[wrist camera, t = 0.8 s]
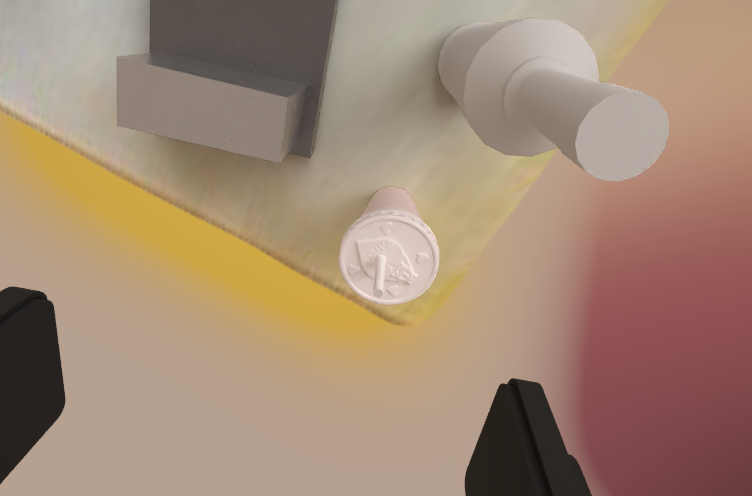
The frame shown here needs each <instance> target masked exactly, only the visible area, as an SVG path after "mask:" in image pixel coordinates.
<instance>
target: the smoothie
mask: <svg viewBox="0 0 752 496" xmlns="http://www.w3.org/2000/svg"><path fill="white" fill-rule="evenodd" d="M339 267H340V271H341V274H342V276H343V278H344V280H345V282H346V283H347V285H348V286H349V287H350V288H351V289H352V290H353V291H354V292H355V293H356V294H357V295H359V296H360V297H362V298H364V299H366V300H368V301H371V302H374V303H377V304H384V305H396V304H402V303H406V302H409V301H411V300H413V299H415V298H417V297H419V296H420V295H422V294H423V293H424V292H425V291H426V290H427V289H428V288H429V287H430V286H431V284H432V283H433V281H434V279H435V277H436V275H437V272H438V268H439V247H438V243H437V240H436V237H435V236H434V234H433V232H432V231H431V229H430V228H429V227H428V226H427V225H426V224H425V223H424V222H423V221H422V219H421V216H420V214H419V212H418V210H417V208H416V205H415V203H414V201H413V199H412V197H411V196H410V194H409V193H408V192H406V191H405V190H403V189H401V188H398V187H385V188H382V189H380V190H379V191H377V192H376V193H375V194H374V195H373V197H372V198H371V200H370V202H369V203H368V205H367V207H366V208H365V210H364V212H363V213H362V215H361V217H360V218H359V219H357V220H356V221H355V222H354V223H353V224H352V225H351V226H350V227H349V228H348V229H347V231H346V233H345V235H344V236H343V238H342V241H341V246H340V250H339Z"/></svg>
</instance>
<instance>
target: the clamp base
mask: <svg viewBox="0 0 752 496" xmlns="http://www.w3.org/2000/svg"><path fill="white" fill-rule="evenodd" d="M338 1H339V0H150V53H147V54H138V55H128V56H119V57H117V122H118V126H121V127H126V128H130V129H134V130H138V131H143V132H147V133H151V134H156V135H160V136H164V137H169V138H173V139H177V140H182V141H186V142H190V143H195V144H199V145H203V146H208V147H212V148H216V149H221V150H225V151H229V152H234V153H238V154H242V155H246V156H251V157H255V158H259V159H264V160H268V161H272V162H277V163H279V162H280V161H281V160H282V159H283V158H284V157H285V156H286V155H287V154H288V153H291V154H295V155H299V156H304V157H308V158H310V156H311V155H312V153H313V149H314V143H315V137H316V131H317V125H318V120H319V114H320V108H321V102H322V96H323V90H324V84H325V78H326V72H327V66H328V60H329V54H330V48H331V42H332V36H333V30H334V25H335V19H336V13H337V7H338Z"/></svg>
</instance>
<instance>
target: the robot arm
mask: <svg viewBox="0 0 752 496" xmlns="http://www.w3.org/2000/svg"><path fill="white" fill-rule="evenodd" d="M54 312H55V311H54V306H53V304H52V302H51V301H49V300H47V296H46V295H45V294H44V293H43V292H40V291H35V290H30V289H24V288H19V287H8V288H6V289H4V290H2V291H1V292H0V484H1V483H2V481H3V480H4V479H5V478H6V477H7V476H8V475H9V473H10V472H11V471H12V470H13V469H14V468H15V467H16V465H17V464H18V463H19V462H20V461H21V460H22V459H23V458H24V456H25V455H26V454H27V453H28V452H29V451H30V449H31V448H32V447H33V446H34V445H35V444H36V443H37V442H38V440H39V439H40V438H41V437H42V436H43V435H44V433H45V432H46V431H47V430H48V429H49V428H50V427H51V426H52V425H53V423H54V422H55V421H56V420H57V419H58V418H59V416H60V415H61V413H62V411H63V408H64V405H65V392H64V384H63V376H62V368H61V360H60V352H59V344H58V336H57V328H56V320H55V313H54ZM465 493H466V496H592V495H591V493H590V490H589V488H588V485H587V483H586V480H585V478H584V476H583V473H582V470H581V468H580V466H579V464H578V462H577V460H576V459H575V458H574V457H573V456H572V455H568V453H567V450H566V448H565V445H564V442H563V440H562V437H561V435H560V432H559V429H558V427H557V424H556V422H555V419H554V417H553V414H552V411H551V409H550V406H549V404H548V401H547V398H546V396H545V394H544V391H543V388H542V386H541V385H540V384H539V383H536V382H531V381H526V380H520V379H514V378H513V379H510V380H509V382H508V384H501V385H499V388H498V390H497V392H496V395H495V398H494V400H493V403H492V405H491V408H490V411H489V413H488V416H487V418H486V421H485V424H484V426H483V429H482V432H481V434H480V437H479V439H478V442H477V444H476V447H475V450H474V452H473V455H472V457H471V460H470V463H469V465H468V468H467V471H466V475H465Z"/></svg>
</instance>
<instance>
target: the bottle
mask: <svg viewBox="0 0 752 496" xmlns="http://www.w3.org/2000/svg"><path fill="white" fill-rule="evenodd" d="M438 72H439V75H440V79H441V82H442V85H443V86H444V87H445V88H446V90H447V91H448V92H449V93H450V95H451V96H453V97H455V99H456V101H457V103H458V105H459V107H460V108H461V110H462V112H463V114H464V116H465V118H466V119H467V121H468V123H469V125H470V126H471V128H472V129H473V130H474V131H475V132H476V134H477V135H478V136H479V137H480V139H481V140H482V141H483V142H484V144H486V145H488V146H490V147H491V148H493V149H495V150H497V151H499V152H501V153H503V154H505V155H514V156H530V157H531V156H534V155H537V154H541V153H544V152H547V151H550V150H553V149H556V148H557V147H558V148H559V149H560V150H561V152H562V153H563V154H564V155H565V156H567V157H568V158H569V159H570V160H572V161H573V162H574V163H575V164H577V165H578V166H579V167H580V168H582V169H583V170H584V171H586V172H587V173H588V174H590V175H592V176H594V177H596V178H598V179H600V180H605V181H622V180H625V179H629V178H632V177H635V176H637V175H639V174H640V173H641V172H643V171H644V170H646V169H647V168H649V167H650V166H652V165H653V163H654V162H655V161H656V159H657V158H658V157H659V155H660V154H661V153H662V152H663V150H664V148H665V144H666V141H667V138H668V135H669V123H668V115H667V113H666V112H665V110H664V109H663V107H662V105H661V104H660V102H659V101H658V100H656V99H654V98H653V97H651V96H649V95H647V94H645V93H644V92H640V91H637V90H632V89H629V88H626V87H622V86H618V85H615V84H611V83H601V82H600V81H599V74H598V68H597V61H596V55H595V53H594V52H593V50H592V49H591V47H590V46H589V44H588V43H587V41H586V40H585V38H584V37H583V35H582V34H581V33H580V32H579V31H577V30H575V29H573V28H572V27H570V26H568V25H566V24H565V23H563V22H561V21H559V20H556V19H539V18H526V19H520V20H513V21H507V22H500V23H494V24H492V23H490V22H475V21H474V22H471V23H469V24H466V25H464V26H461V27H458V28H457V29H456V30H455V31H454V32H453V33H452V34H451V35H450V36H449V37H447V38H446V40H445V42H444V44H443V46H442V48H441V50H440V52H439V60H438Z"/></svg>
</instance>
